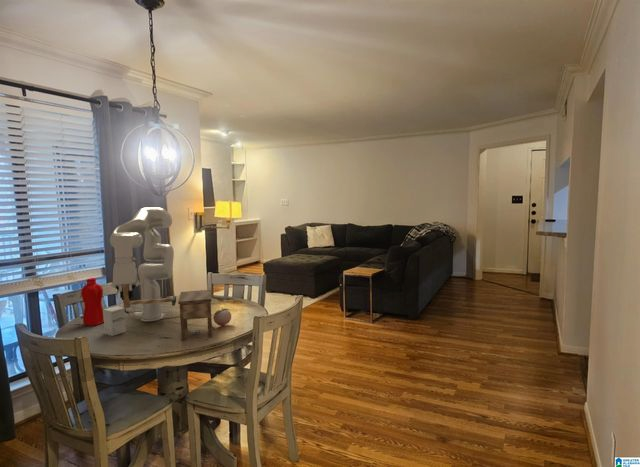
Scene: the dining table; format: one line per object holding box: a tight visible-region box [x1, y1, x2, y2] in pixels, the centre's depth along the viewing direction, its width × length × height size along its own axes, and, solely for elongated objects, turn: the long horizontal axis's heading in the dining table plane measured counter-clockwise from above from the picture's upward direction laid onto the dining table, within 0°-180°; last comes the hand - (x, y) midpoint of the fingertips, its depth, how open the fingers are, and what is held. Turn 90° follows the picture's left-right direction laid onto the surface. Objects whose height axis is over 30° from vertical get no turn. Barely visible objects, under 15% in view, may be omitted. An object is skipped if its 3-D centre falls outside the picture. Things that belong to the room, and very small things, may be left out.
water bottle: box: [80, 277, 104, 327], centre depth 213 cm, size 9×11×25 cm
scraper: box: [122, 285, 177, 309], centre depth 189 cm, size 23×9×11 cm, turn 106°
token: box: [190, 329, 201, 336], centre depth 197 cm, size 4×4×1 cm
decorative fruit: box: [212, 307, 232, 327], centre depth 206 cm, size 9×8×10 cm
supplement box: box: [103, 305, 127, 337], centre depth 199 cm, size 7×7×13 cm
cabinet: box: [177, 289, 213, 342], centre depth 197 cm, size 15×19×19 cm
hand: (126, 298), depth 187 cm, fingers closed on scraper
